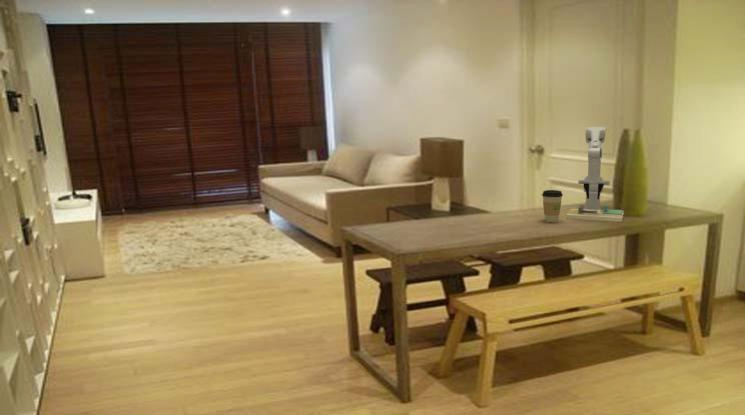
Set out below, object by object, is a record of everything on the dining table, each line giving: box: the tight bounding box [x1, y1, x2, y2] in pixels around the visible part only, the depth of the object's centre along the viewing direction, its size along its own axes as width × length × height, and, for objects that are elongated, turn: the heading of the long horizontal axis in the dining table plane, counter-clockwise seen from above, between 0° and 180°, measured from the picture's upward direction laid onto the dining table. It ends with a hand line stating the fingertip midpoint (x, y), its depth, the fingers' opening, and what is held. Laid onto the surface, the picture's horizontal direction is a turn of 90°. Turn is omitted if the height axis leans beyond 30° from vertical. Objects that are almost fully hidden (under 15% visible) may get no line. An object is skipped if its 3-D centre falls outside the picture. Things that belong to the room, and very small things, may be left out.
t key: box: [577, 204, 597, 214], centre depth 311 cm, size 9×9×3 cm
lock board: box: [565, 208, 625, 223], centre depth 310 cm, size 16×26×3 cm, turn 65°
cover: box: [602, 204, 623, 215], centre depth 305 cm, size 9×9×4 cm
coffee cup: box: [541, 189, 564, 223], centre depth 302 cm, size 10×10×15 cm
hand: (593, 198), depth 306 cm, fingers open, 4 cm apart
